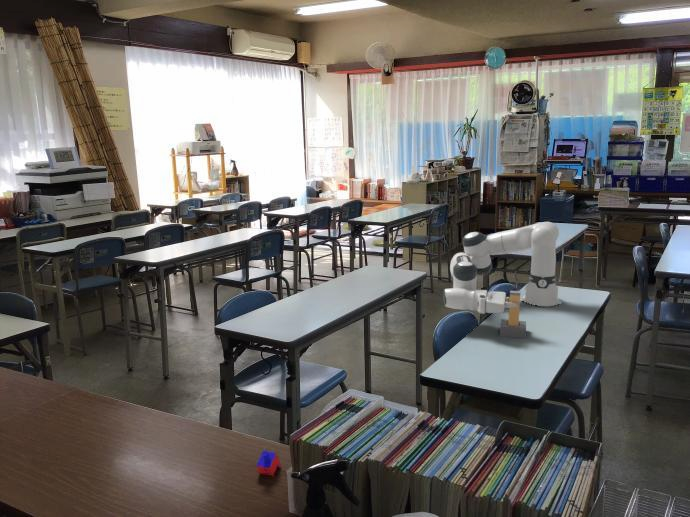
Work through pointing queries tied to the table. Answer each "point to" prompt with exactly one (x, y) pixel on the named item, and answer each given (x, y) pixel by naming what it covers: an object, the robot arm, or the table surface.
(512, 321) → the plug
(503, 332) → the grey square block
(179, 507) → the table surface
